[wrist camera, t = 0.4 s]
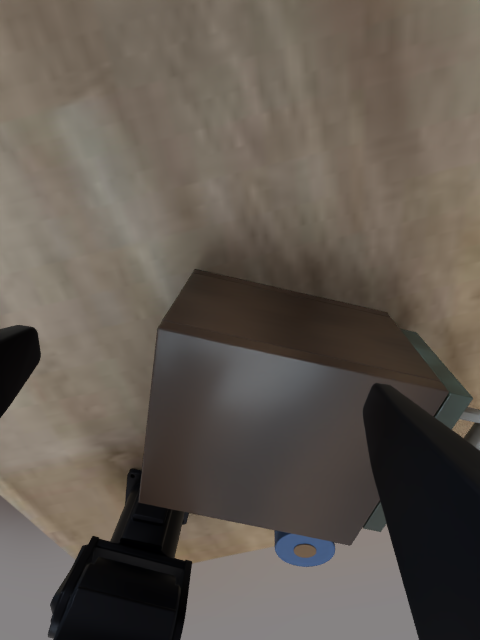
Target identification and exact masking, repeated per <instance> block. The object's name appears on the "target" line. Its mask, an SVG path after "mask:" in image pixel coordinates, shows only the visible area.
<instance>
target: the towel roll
mask: <svg viewBox="0 0 480 640" xmlns="http://www.w3.org/2000/svg"><path fill="white" fill-rule="evenodd" d="M275 551H276V553H277V555H278V556H279V557H280V558H281V559H282V560H283V561H285V562H287V563H289V564H292V565H296V566H303V567H309V566H317V565H320V564H323V563H325V562H327V561H329V560H330V559H331V558H332V557H333V555H334V553H335V545H334V542H330V541H326V540H321V539H316V538H311V537H306V536H301V535H296V534H291V533H286V532H281V531H276V530H275Z"/></svg>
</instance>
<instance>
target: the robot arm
mask: <svg viewBox="0 0 480 640" xmlns="http://www.w3.org/2000/svg"><path fill="white" fill-rule="evenodd" d="M40 357H41V352H40V345H39V338H38V332H37V330H36V329H35V328H34V327H29V326H23V325H16V326H11V327H7V328H3V329H0V418H1V416H2V415H3V414H4V413H5V411H6V410H7V409H8V407H9V406H10V404H11V403H12V402H13V400H14V399H15V397H16V396H17V394H18V393H19V391H20V390H21V388H22V387H23V385H24V384H25V382H26V381H27V379H28V378H29V377H30V375H31V374H32V372H33V371H34V369H35V368H36V366H37V365H38V363H39V361H40ZM363 421H364V427H365V433H366V440H367V446H368V452H369V458H370V463H371V469H372V473H373V476H374V480H375V484H376V487H377V491H378V495H379V498H380V502H381V505H382V509H383V512H384V516H385V520H386V523H387V527H388V530H389V533H390V537H391V541H392V544H393V548H394V552H395V555H396V558H397V562H398V566H399V570H400V573H401V577H402V580H403V584H404V587H405V591H406V595H407V598H408V602H409V605H410V609H411V613H412V616H413V620H414V623H415V626H416V630H417V634H418V638H419V640H480V450H479V449H477V448H476V447H475V446H473V445H472V444H471V443H469V442H468V441H466V440H465V439H464V438H462V437H461V436H460V435H458V434H457V433H455V432H454V431H453V430H451V429H450V428H449V427H447V426H446V425H444V424H443V423H442V422H440V421H439V420H438V419H436V418H435V417H434V416H432V415H431V414H429V413H428V412H427V411H425V410H424V409H423V408H421V407H420V406H418V405H417V404H416V403H414V402H413V401H412V400H410V399H409V398H408V397H406V396H405V395H403V394H402V393H401V392H399V391H398V390H397V389H395V388H394V387H392V386H391V385H387V384H381V383H375V384H373V385H372V387H371V389H370V392H369V394H368V396H367V399H366V401H365V404H364V407H363ZM141 475H142V470H137V469H131V470H130V471H129V473H128V476H127V489H126V501H125V507H124V509H123V511H122V514H121V516H120V519H119V521H118V524H117V526H116V529H115V531H114V534H113V536H112V539H111V541H106V540H102V539H99V537H95V536H92V538H91V540H90V542H89V544H88V545H84V546H82V548H81V550H80V552H79V554H78V556H77V558H76V560H75V563H74V565H73V566H72V568H71V570H70V572H69V573H68V575H67V576H66V578H65V579H64V581H63V583H62V584H61V586H60V587H59V589H58V590H57V592H56V593H55V595H54V597H53V599H52V601H51V604H50V606H51V610H52V613H53V615H52V618H51V625H50V628H49V632H48V637H50V638H54V639H53V640H180V638H181V634H182V630H183V625H184V619H185V613H186V606H187V598H188V590H189V582H190V574H191V566H192V561H189V560H186V561H183V560H180V559H176V558H174V557H175V553H176V548H177V544H178V540H179V535H180V531H181V527H182V525H183V524H186V523H187V518H188V514H189V513H188V512H183V511H178V510H173V509H168V508H163V507H158V506H153V505H148V504H143V503H139V493H140V484H141Z"/></svg>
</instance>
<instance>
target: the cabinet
mask: <svg viewBox="0 0 480 640" xmlns="http://www.w3.org/2000/svg"><path fill="white" fill-rule="evenodd" d="M375 383H381V384H387V385H391V386H392V387H394V388H395V389H397V390H398V391H399V392H401V393H402V394H403V395H405V396H406V397H408V398H409V399H410V400H412V401H413V402H414V403H416V404H417V405H418V406H420V407H421V408H423V409H424V410H425V411H427V412H428V413H429V414H431V415H432V416H434V415H435V413H436V412H437V410H438V409H439V407H440V406H441V404H442V403H443V401H444V399H445V398H446V396H447V395H448V393H449V391H448V390H447V388H446V387H445V386H444V385H443V383H442V382H441V381H440V379H439V378H438V377H437V375H436V374H435V373H434V372H433V370H432V369H431V368H430V367H429V365H428V364H427V363H426V361H425V360H424V359H423V358H422V356H421V355H420V354H419V353H418V351H417V350H416V349H415V347H414V346H413V345H412V344H411V342H410V341H409V340H408V338H407V337H406V336H405V335H404V333H403V332H402V331H401V330H400V328H399V327H398V326H397V324H396V323H395V322H394V321H393V319H392V318H391V317H390V316H389V314H388V313H387V312H382V311H378V310H373V309H369V308H365V307H360V306H356V305H351V304H347V303H343V302H338V301H334V300H329V299H325V298H320V297H316V296H312V295H307V294H303V293H298V292H294V291H289V290H285V289H281V288H276V287H272V286H267V285H263V284H258V283H254V282H250V281H245V280H241V279H236V278H232V277H228V276H223V275H219V274H214V273H210V272H205V271H201V270H197V269H195V270H194V272H193V273H192V275H191V276H190V278H189V279H188V281H187V283H186V284H185V286H184V287H183V289H182V290H181V292H180V294H179V295H178V297H177V298H176V300H175V301H174V303H173V304H172V306H171V308H170V309H169V311H168V312H167V314H166V315H165V317H164V319H163V320H162V322H161V324H160V325H159V327H158V328H157V337H156V346H155V355H154V365H153V374H152V383H151V392H150V401H149V410H148V420H147V429H146V438H145V447H144V456H143V465H142V475H141V484H140V493H139V503H143V504H148V505H153V506H158V507H163V508H168V509H173V510H178V511H183V512H188V513H193V514H197V515H202V516H207V517H212V518H217V519H222V520H227V521H232V522H237V523H242V524H247V525H252V526H257V527H262V528H266V529H271V530H276V531H281V532H286V533H291V534H296V535H301V536H306V537H311V538H316V539H321V540H326V541H330V542H335V543H340V544H345V545H351V544H352V543H353V541H354V540H355V538H356V536H357V535H358V533H359V532H360V530H361V529H362V527H363V526H364V524H365V522H366V521H367V519H368V518H369V516H370V515H371V513H372V512H373V510H374V508H375V507H376V505H377V504H378V502H379V501H380V498H379V495H378V491H377V487H376V484H375V480H374V476H373V473H372V469H371V463H370V458H369V452H368V446H367V440H366V433H365V427H364V421H363V407H364V404H365V401H366V399H367V396H368V394H369V392H370V389H371V387H372V385H373V384H375Z"/></svg>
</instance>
